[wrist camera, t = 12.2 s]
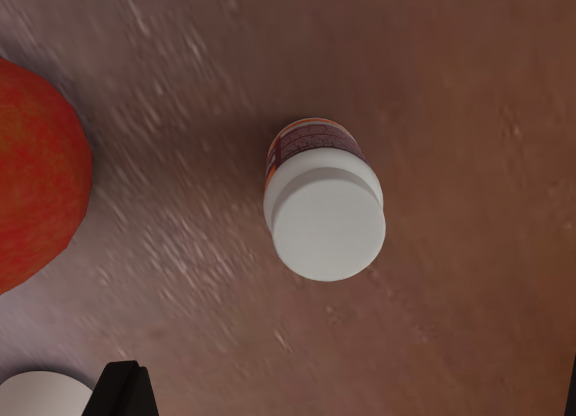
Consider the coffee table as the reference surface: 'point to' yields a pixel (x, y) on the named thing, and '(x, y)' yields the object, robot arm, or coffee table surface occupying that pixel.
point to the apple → (38, 174)
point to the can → (43, 395)
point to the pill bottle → (322, 201)
